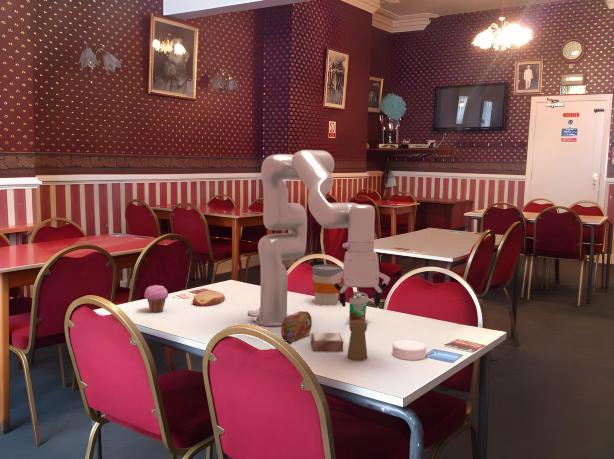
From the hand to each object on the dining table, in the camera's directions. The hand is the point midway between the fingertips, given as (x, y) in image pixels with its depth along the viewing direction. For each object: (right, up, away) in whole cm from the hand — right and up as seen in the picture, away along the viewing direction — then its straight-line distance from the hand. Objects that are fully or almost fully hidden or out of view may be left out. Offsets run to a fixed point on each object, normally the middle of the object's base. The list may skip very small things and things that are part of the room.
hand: (359, 305), depth 172 cm
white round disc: (+15, -16, +5) cm, 23 cm away
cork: (-1, -16, +2) cm, 16 cm away
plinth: (-9, -14, +11) cm, 20 cm away
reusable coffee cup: (-7, -8, +70) cm, 71 cm away
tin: (-19, -14, +20) cm, 30 cm away
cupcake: (-72, -9, +51) cm, 89 cm away
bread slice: (-56, -8, +71) cm, 91 cm away
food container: (+4, -12, +41) cm, 43 cm away
